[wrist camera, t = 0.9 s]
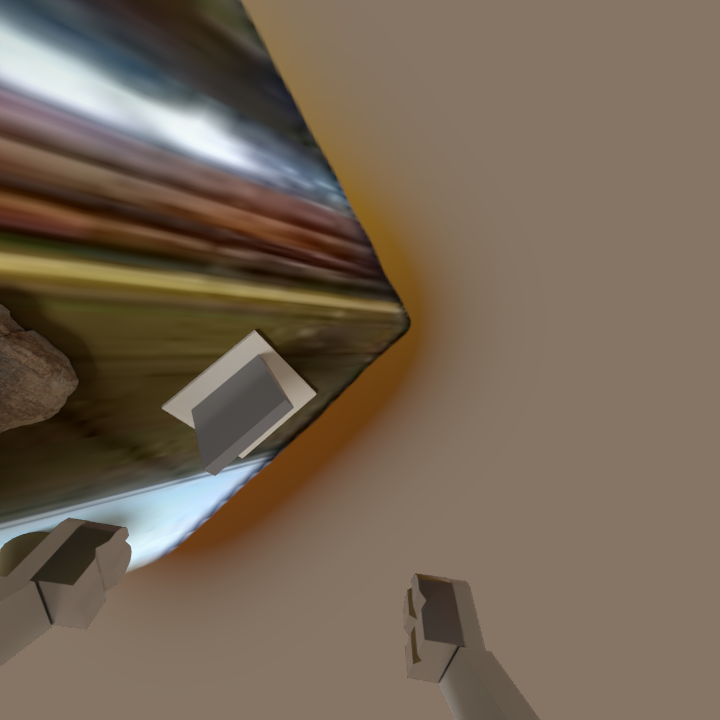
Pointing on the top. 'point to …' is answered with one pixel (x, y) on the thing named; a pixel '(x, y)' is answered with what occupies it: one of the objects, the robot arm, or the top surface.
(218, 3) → the top surface
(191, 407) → the beige mat
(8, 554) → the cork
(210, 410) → the slate tile
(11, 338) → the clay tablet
